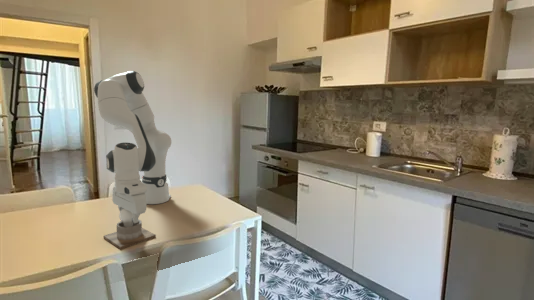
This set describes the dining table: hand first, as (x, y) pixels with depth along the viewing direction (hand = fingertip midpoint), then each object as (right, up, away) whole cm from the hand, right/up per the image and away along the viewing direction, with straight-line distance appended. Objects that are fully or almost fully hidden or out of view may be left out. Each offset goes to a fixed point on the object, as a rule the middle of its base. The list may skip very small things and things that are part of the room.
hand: (129, 219), depth 118 cm
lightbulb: (-1, -6, +2) cm, 7 cm away
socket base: (0, -8, +1) cm, 8 cm away
